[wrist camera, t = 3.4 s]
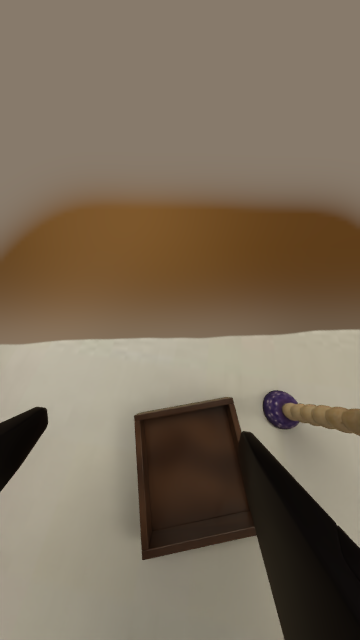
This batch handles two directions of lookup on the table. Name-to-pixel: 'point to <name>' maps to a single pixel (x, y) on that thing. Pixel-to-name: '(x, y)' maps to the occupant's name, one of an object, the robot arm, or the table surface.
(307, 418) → the toy lamp
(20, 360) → the table surface
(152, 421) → the tray
